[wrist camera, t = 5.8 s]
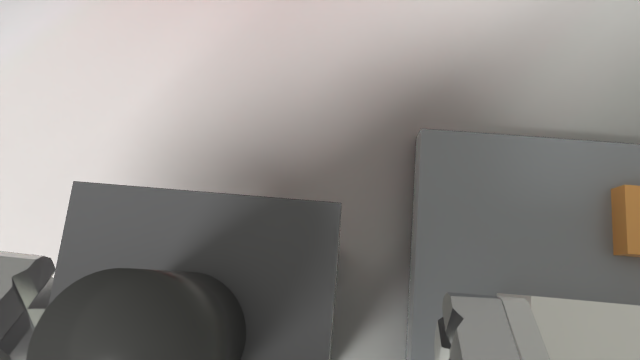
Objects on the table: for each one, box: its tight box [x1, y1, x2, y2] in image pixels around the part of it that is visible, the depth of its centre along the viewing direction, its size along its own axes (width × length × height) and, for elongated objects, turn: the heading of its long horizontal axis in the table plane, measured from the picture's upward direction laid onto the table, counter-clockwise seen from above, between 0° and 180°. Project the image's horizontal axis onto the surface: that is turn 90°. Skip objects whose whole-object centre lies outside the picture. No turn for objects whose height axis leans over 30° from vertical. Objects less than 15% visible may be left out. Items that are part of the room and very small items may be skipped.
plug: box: [26, 181, 341, 360], centre depth 10 cm, size 4×4×11 cm
